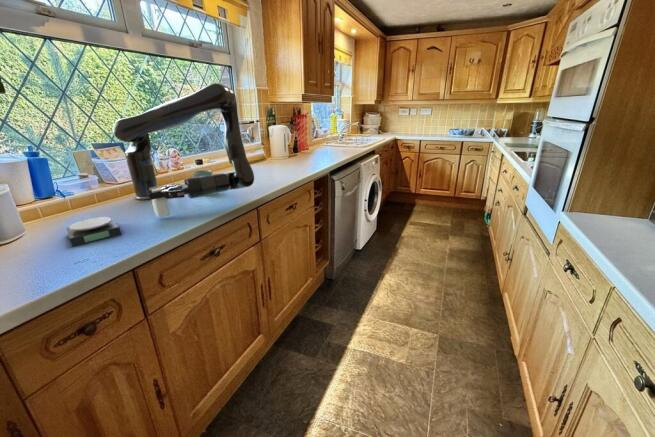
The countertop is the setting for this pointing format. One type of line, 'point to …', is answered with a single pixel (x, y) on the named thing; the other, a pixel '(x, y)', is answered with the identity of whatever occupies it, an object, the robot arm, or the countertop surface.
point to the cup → (202, 173)
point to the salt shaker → (160, 205)
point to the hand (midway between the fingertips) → (148, 195)
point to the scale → (92, 230)
